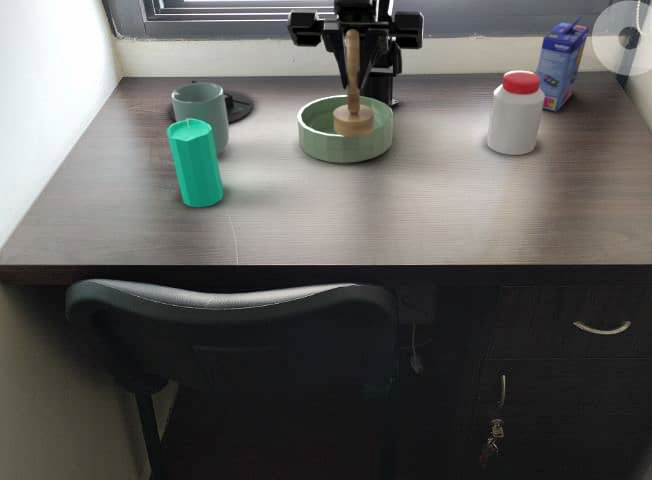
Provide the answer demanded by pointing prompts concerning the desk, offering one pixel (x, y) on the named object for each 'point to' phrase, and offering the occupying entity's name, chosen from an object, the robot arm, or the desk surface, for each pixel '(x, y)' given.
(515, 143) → the pill bottle
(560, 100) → the ink cartridge box
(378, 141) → the bowl
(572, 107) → the desk surface
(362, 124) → the wooden mushroom pestle
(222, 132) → the cup
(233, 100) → the black round base plate
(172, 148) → the candle
